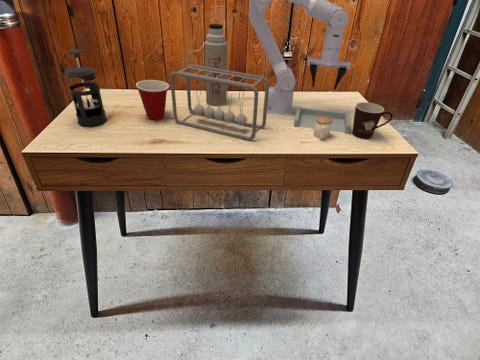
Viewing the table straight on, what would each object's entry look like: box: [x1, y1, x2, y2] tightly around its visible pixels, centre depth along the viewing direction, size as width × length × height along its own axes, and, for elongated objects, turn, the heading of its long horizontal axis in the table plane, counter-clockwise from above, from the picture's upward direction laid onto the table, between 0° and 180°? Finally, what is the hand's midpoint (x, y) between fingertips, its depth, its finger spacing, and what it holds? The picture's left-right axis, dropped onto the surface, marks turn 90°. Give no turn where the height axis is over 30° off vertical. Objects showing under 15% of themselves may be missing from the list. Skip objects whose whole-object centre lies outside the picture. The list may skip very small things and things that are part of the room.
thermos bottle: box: [204, 23, 228, 107], centre depth 118 cm, size 8×8×28 cm
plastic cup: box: [135, 79, 170, 122], centre depth 109 cm, size 11×11×12 cm
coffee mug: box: [351, 101, 393, 140], centre depth 103 cm, size 12×9×10 cm
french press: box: [64, 49, 108, 128], centre depth 102 cm, size 12×9×23 cm
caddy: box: [293, 106, 351, 135], centre depth 112 cm, size 18×13×3 cm
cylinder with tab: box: [313, 116, 333, 140], centre depth 103 cm, size 5×7×6 cm
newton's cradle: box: [169, 63, 270, 142], centre depth 104 cm, size 30×10×18 cm, turn 66°
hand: (324, 87), depth 115 cm, fingers open, 7 cm apart
